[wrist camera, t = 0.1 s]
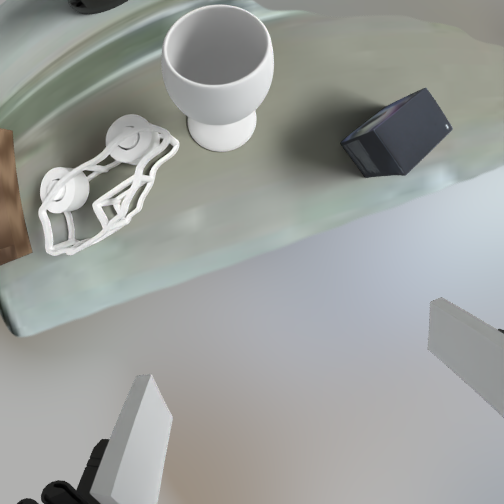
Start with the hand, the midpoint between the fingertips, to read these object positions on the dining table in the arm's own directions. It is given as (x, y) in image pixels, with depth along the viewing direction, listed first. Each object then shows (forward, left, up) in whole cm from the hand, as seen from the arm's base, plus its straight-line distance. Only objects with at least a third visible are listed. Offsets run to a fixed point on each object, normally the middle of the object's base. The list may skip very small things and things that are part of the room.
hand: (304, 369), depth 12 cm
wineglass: (-17, 0, -27) cm, 32 cm away
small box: (-11, +20, -27) cm, 36 cm away
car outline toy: (-12, -16, -28) cm, 34 cm away
